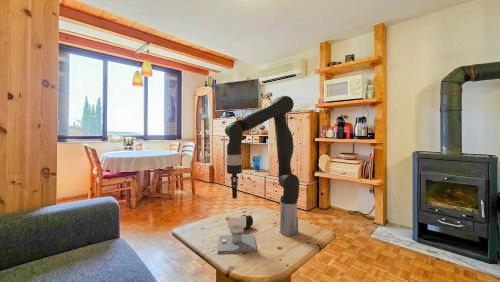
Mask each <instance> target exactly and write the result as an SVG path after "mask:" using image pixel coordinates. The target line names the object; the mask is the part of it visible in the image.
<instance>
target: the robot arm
mask: <svg viewBox="0 0 500 282" xmlns="http://www.w3.org/2000/svg"><path fill="white" fill-rule="evenodd" d="M294 104H295V103H294V100H293V98H292V97H290V96H289V95H282V96H279V97H278V96H277V98H274V99H273V101H272V104H271V105H269V106H266V107H263V108H262V109H259V110H256V111H254V112H252V113H249V114H248V115H245V116H244V117H242V118H239V119H237V120H235V121H233V122H230V123H229V124H227V125H226V126H225V128H224V132H225V133H224V134H225V135H226V136H227V137H228V143H227V144H226V173H227V174H229V175H231V176H230V179H229V180H230V186H231V191H232V193H231V194H232V196H231V199H237V198H238V186H239V176H238V175H240V174H242V173H243V165H242V164H243V160H242V142H243V137H244V132H246V131H250V130H252V129H255V128H256V127H258V126H260V125H262V124H263V123H266V122H267V121H269V120H271V119H273V121H274V129H275V141H276V151H277V154H276V155H277V162H278V164H277V165H278V175H277V177H278V178H277V179H278V184H279V186H280V187H281V188H282V189H283V194H282V195H281V196H280V199H279V200H280V207H279V208H280V209H279V213H280V214H279V216H280V217H279V218H280V220H279V222H280V223H279V226H280V227H279V232H280V234H281V235H283V236H285V237H286V236H287V237H294V236H297V235H299V216H298V200H299V196H300V195H299V194H300V180H299V177H298V176H297V175H296V174H294V173H292V166H291V162H292V159H293V158H292V157H293V153H294V137H293V133H292V132H291V130H290V127H289V126H288V123H287V114H288V113H290V112H291V111H292V110H293V108H294Z"/></svg>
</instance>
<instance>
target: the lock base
mask: <svg viewBox="0 0 500 282" xmlns="http://www.w3.org/2000/svg"><path fill="white" fill-rule="evenodd" d="M257 250H258V249H257V245H256V241H255V235H254V233H250V234H249V233H248V234H244V233H242V234H239V235H234V234H219V237H218V245H217V254H219V255H220V254H235V253H236V254H239V253H257V252H258V251H257Z"/></svg>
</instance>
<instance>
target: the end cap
mask: <svg viewBox="0 0 500 282" xmlns="http://www.w3.org/2000/svg"><path fill="white" fill-rule="evenodd" d="M241 216H246V227H244V229H247V228H250V227H252V226H253V224H254V219H253V217H252V216H251V215H250V214H249V215H246V214H242V215H241Z"/></svg>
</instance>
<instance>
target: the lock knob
mask: <svg viewBox="0 0 500 282" xmlns="http://www.w3.org/2000/svg"><path fill="white" fill-rule="evenodd" d="M246 216H247V215H246ZM246 216H242V215H241V216H225V221H227V229H229V234H230V235H232V234H234V235H239V234H242V235H243V234H244V232H245V228H244V227H246Z"/></svg>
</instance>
